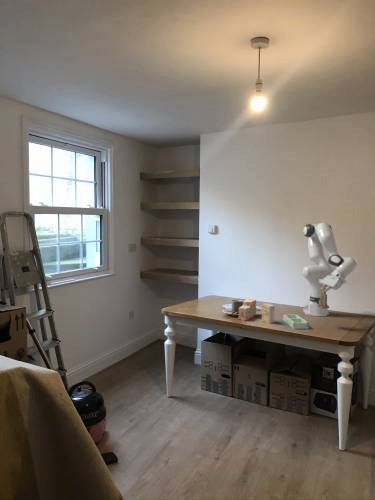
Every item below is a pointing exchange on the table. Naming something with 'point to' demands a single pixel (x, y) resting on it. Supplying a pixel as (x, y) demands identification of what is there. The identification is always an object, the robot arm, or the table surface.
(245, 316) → the stack of blocks
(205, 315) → the table surface
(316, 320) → the table surface
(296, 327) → the rack
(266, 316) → the supplement box
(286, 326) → the mat
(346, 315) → the table surface
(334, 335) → the table surface
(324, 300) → the tan wooden tall piece
